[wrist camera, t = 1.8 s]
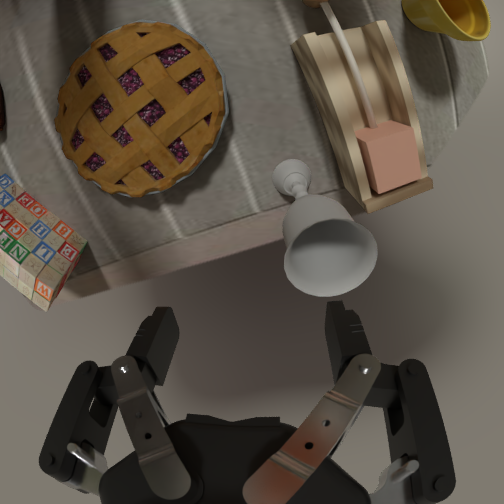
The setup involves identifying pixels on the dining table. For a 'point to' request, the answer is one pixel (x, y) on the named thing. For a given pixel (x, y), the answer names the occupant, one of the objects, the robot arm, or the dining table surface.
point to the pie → (142, 108)
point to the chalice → (321, 238)
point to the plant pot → (450, 17)
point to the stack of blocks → (34, 246)
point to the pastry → (1, 110)
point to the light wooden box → (350, 104)
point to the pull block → (378, 130)
